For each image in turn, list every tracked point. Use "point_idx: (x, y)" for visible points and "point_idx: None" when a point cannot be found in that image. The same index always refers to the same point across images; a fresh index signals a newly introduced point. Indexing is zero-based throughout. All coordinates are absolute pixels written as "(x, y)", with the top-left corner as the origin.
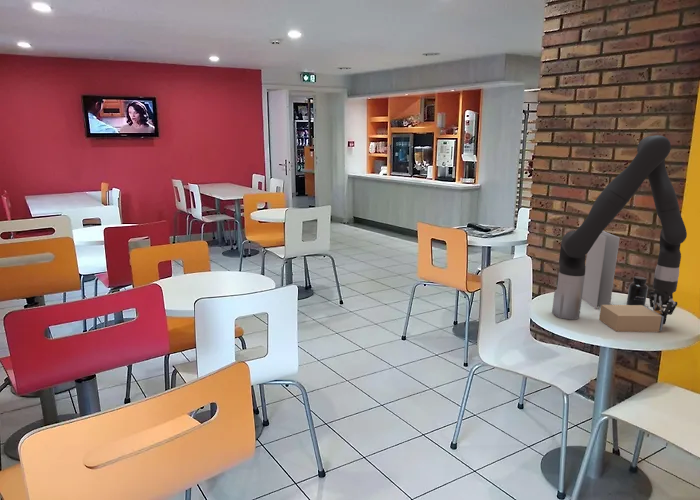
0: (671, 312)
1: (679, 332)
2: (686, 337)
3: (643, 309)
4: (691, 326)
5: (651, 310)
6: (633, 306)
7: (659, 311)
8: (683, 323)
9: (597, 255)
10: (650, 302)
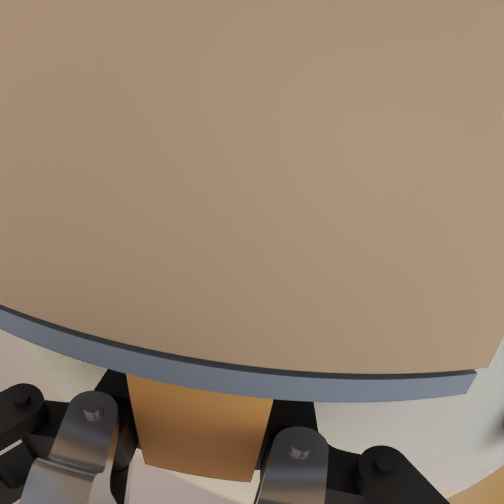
0: (16, 446)
1: (93, 374)
2: (24, 340)
3: (289, 215)
4: (208, 483)
5: (233, 374)
6: (500, 135)
7: (216, 452)
8: (257, 483)
9: None
10: (421, 495)
